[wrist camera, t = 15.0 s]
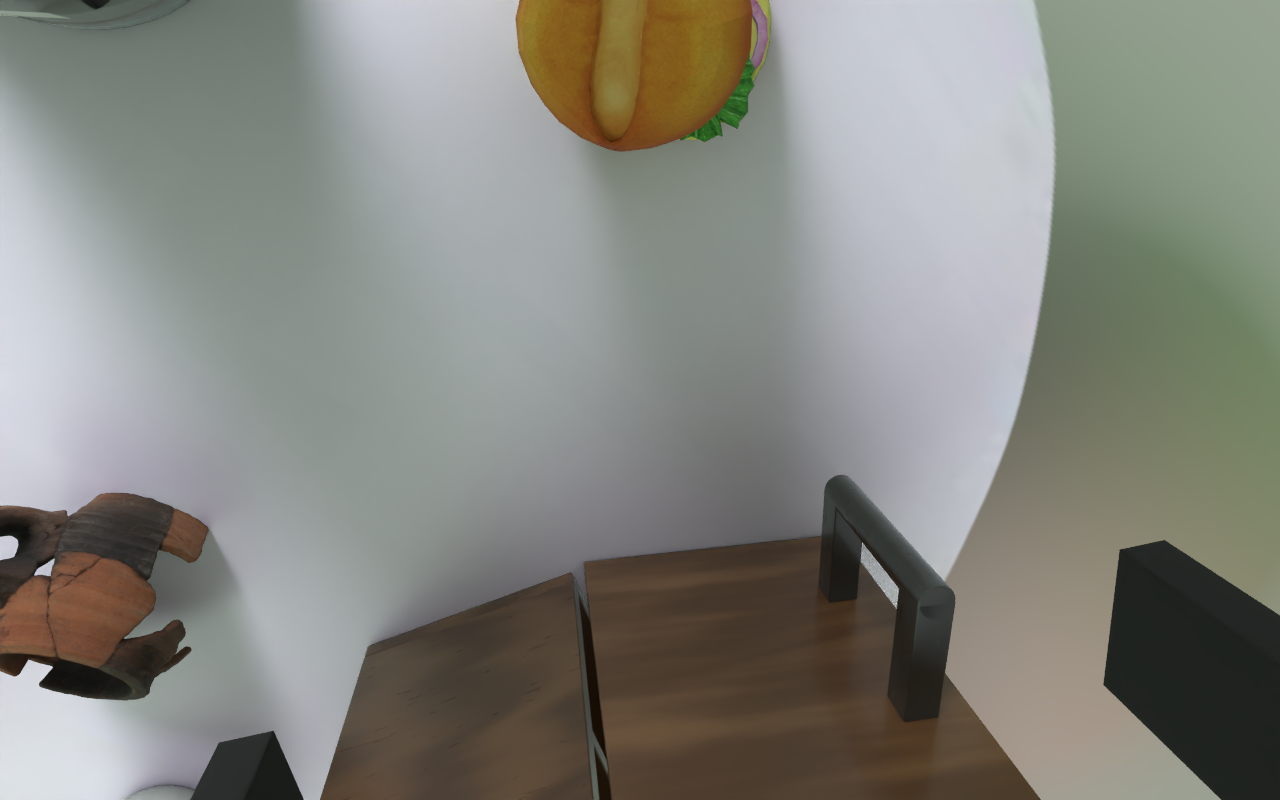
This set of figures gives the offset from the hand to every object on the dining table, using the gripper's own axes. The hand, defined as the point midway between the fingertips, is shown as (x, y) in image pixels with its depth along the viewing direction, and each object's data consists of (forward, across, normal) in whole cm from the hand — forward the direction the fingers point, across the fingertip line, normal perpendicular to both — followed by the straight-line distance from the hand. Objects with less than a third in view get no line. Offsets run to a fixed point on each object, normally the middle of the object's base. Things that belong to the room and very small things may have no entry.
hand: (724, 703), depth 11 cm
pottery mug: (+29, -28, -10) cm, 41 cm away
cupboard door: (+29, +5, -14) cm, 32 cm away
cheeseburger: (+29, +5, +12) cm, 32 cm away
